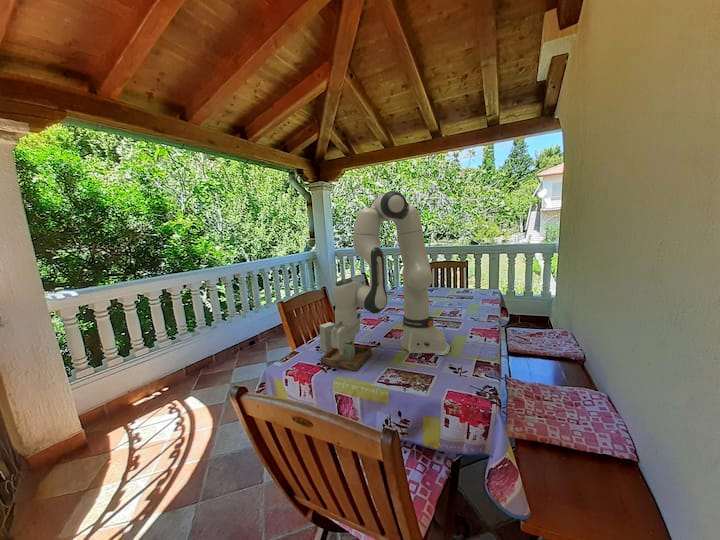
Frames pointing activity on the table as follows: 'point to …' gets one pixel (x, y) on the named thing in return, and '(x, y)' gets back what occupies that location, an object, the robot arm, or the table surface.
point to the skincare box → (326, 336)
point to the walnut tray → (360, 357)
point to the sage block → (348, 352)
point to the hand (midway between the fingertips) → (346, 349)
